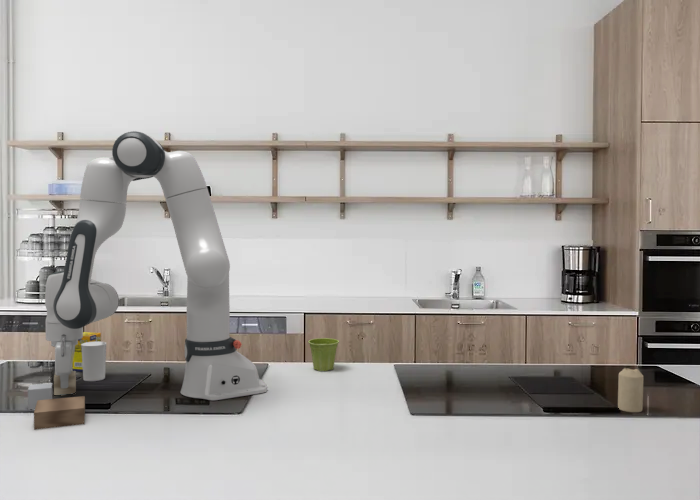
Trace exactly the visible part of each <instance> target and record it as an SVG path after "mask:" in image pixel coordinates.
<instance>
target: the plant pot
mask: <svg viewBox="0 0 700 500" xmlns="http://www.w3.org/2000/svg"><path fill="white" fill-rule="evenodd" d="M307 342H308V344H309V348H310V351H311V358H312V365H313V366H312V367H313V370H314V371H315V370H316V371H317V372H328V371H332V370H334V369H335V368H334V367H335V359H336V353H337V348H338V345H339V343H340V341H339V339H335V338H327V337H324V338H323V337H322V338H320V337H319V338H312V339H309V340H308V341H307Z"/></svg>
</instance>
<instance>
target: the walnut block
mask: <svg viewBox="0 0 700 500" xmlns="http://www.w3.org/2000/svg"><path fill="white" fill-rule="evenodd" d="M85 415H86V396H85V395H82V396H72V397H70V396H69V397H62V398H53V399H47V400H38V401H37V404H36V407H35V410H33V430H43V429H44V430H45V429H51V428H60V427H61V428H62V427H71V426H80V425H85V423H86V422H85V420H86V418H85V417H86V416H85Z"/></svg>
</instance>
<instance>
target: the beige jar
mask: <svg viewBox="0 0 700 500" xmlns="http://www.w3.org/2000/svg"><path fill="white" fill-rule="evenodd" d="M617 385H618V389H617V409H618V408H619V409H618V410H620V411H623V412H627V413H642V412H643V406H644V405H643V404H644V403H643V402H644V375H643V374H642V372H641V371H640V369H639V368H638V369H637V368H635V369H632V368H626V367H624V368H623V369H622V370H621V371H619V373H618V383H617Z"/></svg>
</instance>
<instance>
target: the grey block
mask: <svg viewBox="0 0 700 500" xmlns="http://www.w3.org/2000/svg"><path fill="white" fill-rule="evenodd" d="M53 396H54V389H53V383H52V382H47V383H35V384H29V386H28V388H27V411H30V410H29V409H35V407H36V404H37V401H38V400H47V399H54V398H53Z"/></svg>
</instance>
